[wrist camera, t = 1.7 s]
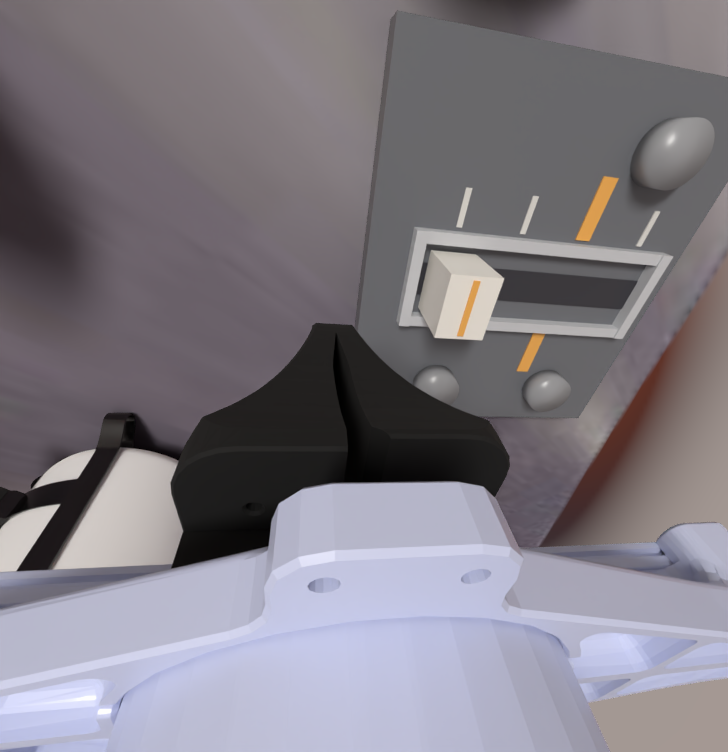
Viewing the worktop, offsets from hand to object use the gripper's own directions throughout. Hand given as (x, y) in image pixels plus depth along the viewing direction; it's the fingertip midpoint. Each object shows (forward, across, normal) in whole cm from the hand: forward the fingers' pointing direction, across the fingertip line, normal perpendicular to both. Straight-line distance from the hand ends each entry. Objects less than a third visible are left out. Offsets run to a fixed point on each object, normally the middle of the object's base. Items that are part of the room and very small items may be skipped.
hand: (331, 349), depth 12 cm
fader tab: (+8, -7, 0) cm, 10 cm away
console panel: (+9, -11, 0) cm, 14 cm away
